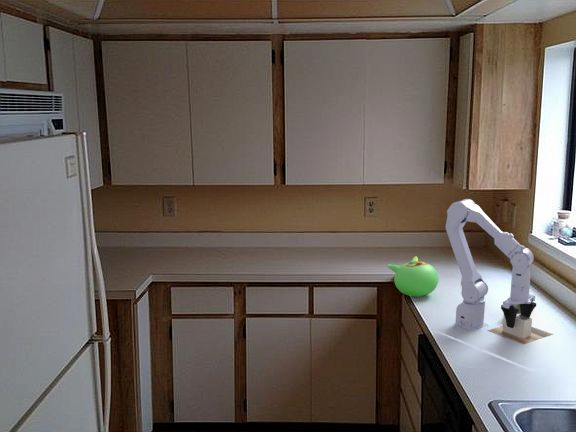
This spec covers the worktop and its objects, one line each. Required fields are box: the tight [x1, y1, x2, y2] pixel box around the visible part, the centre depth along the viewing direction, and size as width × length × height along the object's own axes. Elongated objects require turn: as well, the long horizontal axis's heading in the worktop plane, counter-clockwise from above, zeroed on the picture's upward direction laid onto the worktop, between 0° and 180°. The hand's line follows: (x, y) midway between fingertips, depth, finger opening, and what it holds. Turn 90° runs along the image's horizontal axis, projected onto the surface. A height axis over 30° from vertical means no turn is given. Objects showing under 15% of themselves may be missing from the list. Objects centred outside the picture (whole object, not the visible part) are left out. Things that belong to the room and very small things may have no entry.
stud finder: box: [502, 313, 533, 338], centre depth 199 cm, size 4×8×6 cm, turn 34°
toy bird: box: [386, 255, 439, 298], centre depth 240 cm, size 18×17×15 cm
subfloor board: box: [486, 325, 554, 345], centre depth 201 cm, size 16×14×1 cm
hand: (517, 324), depth 199 cm, fingers open, 7 cm apart
